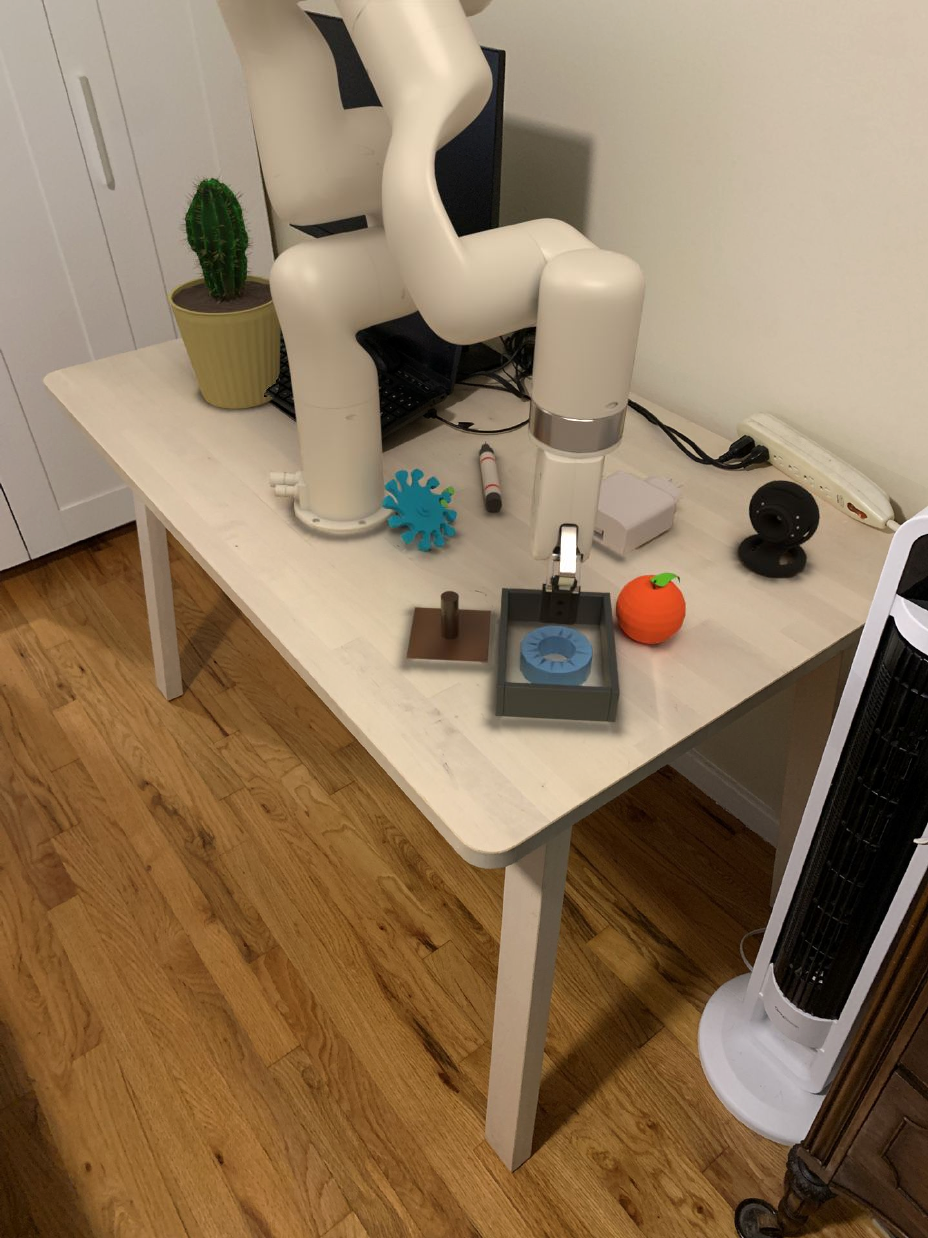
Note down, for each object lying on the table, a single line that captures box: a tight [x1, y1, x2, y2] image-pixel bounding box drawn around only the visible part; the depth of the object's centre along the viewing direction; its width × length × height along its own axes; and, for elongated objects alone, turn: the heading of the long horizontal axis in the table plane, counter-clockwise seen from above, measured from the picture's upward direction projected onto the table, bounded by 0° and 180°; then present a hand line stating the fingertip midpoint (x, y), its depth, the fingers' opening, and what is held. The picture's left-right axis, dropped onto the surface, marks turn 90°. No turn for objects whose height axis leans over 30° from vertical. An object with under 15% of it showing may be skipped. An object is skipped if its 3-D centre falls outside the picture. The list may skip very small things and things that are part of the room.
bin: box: [495, 587, 621, 723], centre depth 87 cm, size 11×14×4 cm
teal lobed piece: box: [382, 467, 458, 552], centre depth 106 cm, size 11×6×10 cm
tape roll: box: [519, 624, 594, 686], centre depth 87 cm, size 7×7×3 cm
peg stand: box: [406, 590, 492, 663], centre depth 90 cm, size 8×8×6 cm
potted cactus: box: [167, 172, 281, 410], centre depth 125 cm, size 15×15×30 cm
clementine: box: [615, 572, 687, 645], centre depth 91 cm, size 8×7×7 cm
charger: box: [593, 470, 684, 556], centre depth 108 cm, size 5×9×15 cm
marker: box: [478, 441, 503, 513], centre depth 116 cm, size 15×2×2 cm, turn 3°
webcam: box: [737, 479, 821, 578], centre depth 100 cm, size 8×8×10 cm
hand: (556, 586), depth 83 cm, fingers open, 9 cm apart
